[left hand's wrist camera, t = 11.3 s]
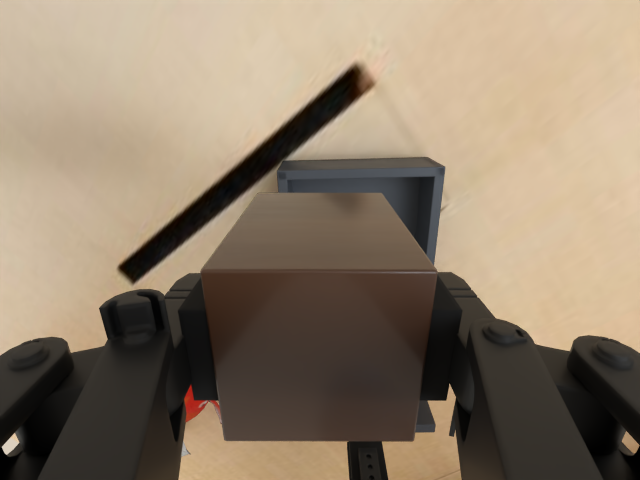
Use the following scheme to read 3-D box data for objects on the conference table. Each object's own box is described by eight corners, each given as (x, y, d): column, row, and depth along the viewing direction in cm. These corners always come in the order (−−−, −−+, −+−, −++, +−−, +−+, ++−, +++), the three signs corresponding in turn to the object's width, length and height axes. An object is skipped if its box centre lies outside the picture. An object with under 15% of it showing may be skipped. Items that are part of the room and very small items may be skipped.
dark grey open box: (283, 160, 32) (267, 185, 23) (428, 157, 32) (472, 181, 22) (296, 358, 41) (288, 434, 32) (409, 356, 41) (434, 432, 32)
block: (257, 192, 14) (198, 270, 7) (382, 192, 14) (439, 270, 7) (264, 300, 15) (223, 442, 9) (375, 300, 15) (414, 442, 9)
